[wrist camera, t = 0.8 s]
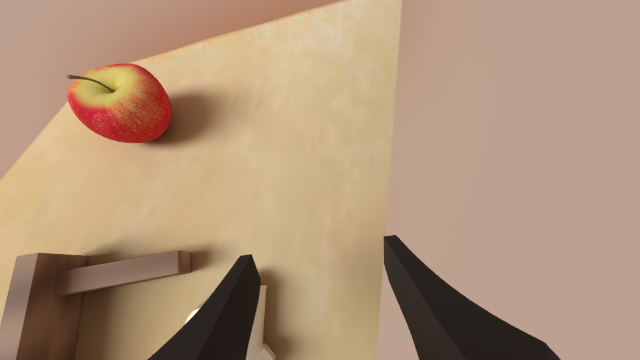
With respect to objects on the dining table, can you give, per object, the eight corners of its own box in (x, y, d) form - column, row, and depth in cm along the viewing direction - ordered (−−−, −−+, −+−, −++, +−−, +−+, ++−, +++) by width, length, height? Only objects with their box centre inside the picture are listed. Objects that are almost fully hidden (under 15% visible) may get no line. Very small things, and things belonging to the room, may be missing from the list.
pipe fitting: (250, 265, 26) (195, 317, 23) (245, 262, 22) (179, 322, 20) (301, 323, 24) (248, 385, 22) (304, 330, 21) (241, 405, 18)
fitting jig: (192, 456, 20) (159, 514, 15) (32, 503, 18) (-62, 586, 13) (191, 238, 26) (167, 231, 21) (71, 258, 24) (16, 256, 19)
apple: (97, 140, 29) (0, 79, 19) (142, 90, 32) (78, 16, 22) (157, 166, 28) (86, 116, 19) (197, 113, 31) (154, 47, 22)
